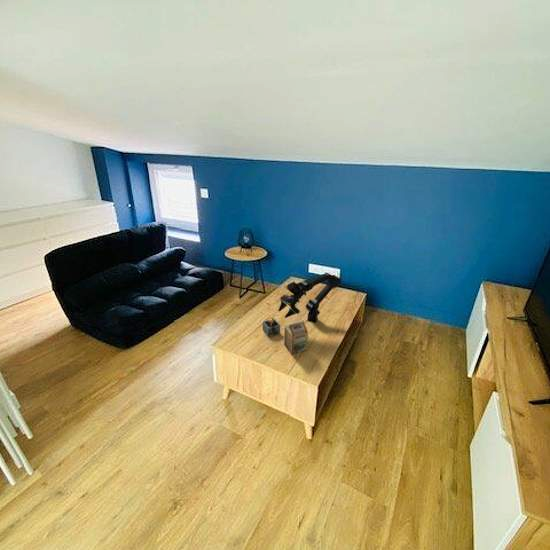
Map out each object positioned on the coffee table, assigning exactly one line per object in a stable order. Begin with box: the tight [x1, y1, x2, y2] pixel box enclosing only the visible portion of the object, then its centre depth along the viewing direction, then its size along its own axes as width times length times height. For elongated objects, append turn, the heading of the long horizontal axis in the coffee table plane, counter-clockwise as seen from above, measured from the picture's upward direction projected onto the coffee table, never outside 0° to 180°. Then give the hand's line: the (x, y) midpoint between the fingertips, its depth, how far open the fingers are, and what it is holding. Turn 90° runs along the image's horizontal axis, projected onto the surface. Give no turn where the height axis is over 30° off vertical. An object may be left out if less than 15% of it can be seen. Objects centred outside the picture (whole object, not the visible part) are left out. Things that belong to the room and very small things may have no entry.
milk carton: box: [283, 320, 309, 356], centre depth 183 cm, size 11×10×19 cm
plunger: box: [268, 317, 275, 327], centre depth 200 cm, size 7×7×9 cm
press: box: [262, 318, 281, 337], centre depth 200 cm, size 9×11×6 cm
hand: (281, 314), depth 201 cm, fingers open, 9 cm apart
